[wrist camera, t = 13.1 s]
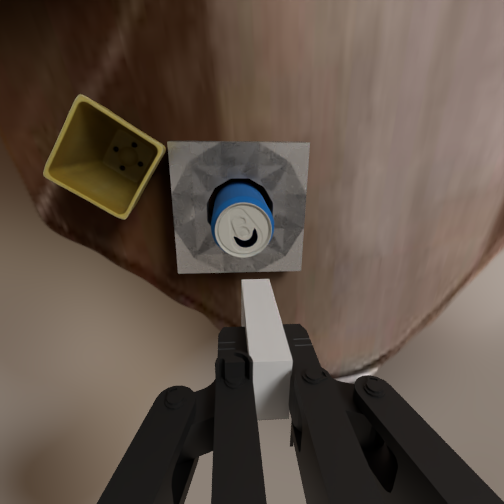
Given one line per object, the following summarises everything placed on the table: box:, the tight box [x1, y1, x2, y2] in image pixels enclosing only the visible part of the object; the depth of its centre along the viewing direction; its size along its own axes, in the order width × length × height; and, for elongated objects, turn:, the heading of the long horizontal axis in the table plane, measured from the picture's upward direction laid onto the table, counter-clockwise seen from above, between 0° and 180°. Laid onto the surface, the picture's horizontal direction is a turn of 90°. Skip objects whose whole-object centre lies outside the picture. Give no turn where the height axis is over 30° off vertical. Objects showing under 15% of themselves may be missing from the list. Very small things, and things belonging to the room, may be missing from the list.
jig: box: [167, 141, 310, 274], centre depth 40 cm, size 16×16×4 cm
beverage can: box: [211, 181, 274, 258], centre depth 37 cm, size 6×6×12 cm
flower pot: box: [43, 94, 166, 220], centre depth 35 cm, size 9×9×9 cm
